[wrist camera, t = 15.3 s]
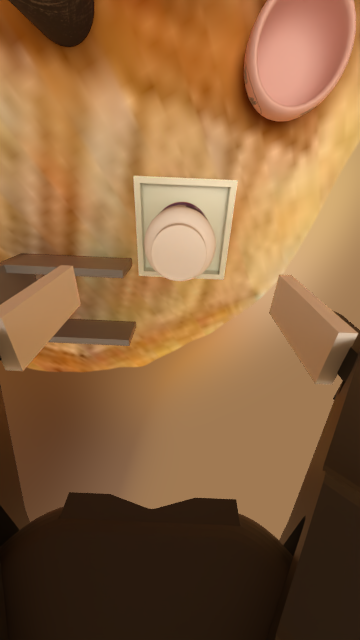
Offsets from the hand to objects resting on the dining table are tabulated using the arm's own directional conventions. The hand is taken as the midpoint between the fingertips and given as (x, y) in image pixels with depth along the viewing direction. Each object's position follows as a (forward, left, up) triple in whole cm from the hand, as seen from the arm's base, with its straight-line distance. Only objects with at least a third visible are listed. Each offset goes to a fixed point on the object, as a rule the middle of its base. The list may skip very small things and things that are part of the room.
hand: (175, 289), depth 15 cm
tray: (0, 0, -24) cm, 24 cm away
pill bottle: (0, 0, -24) cm, 24 cm away
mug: (+10, +18, -24) cm, 32 cm away
